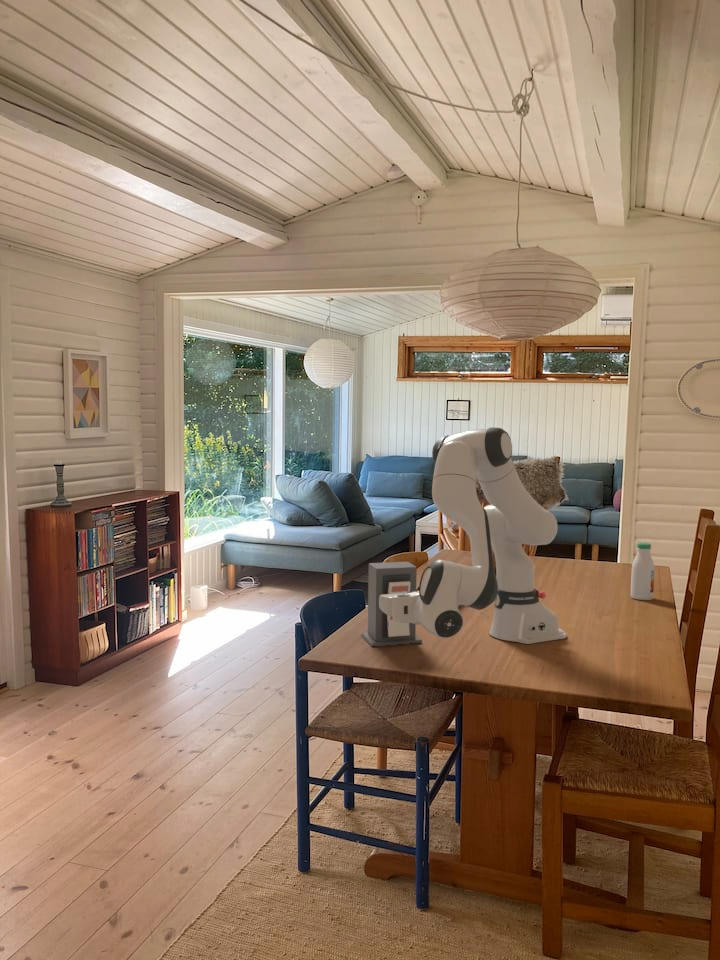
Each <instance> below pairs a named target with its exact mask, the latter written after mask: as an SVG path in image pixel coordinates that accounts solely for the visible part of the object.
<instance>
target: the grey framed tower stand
mask: <svg viewBox="0 0 720 960" xmlns="http://www.w3.org/2000/svg"><path fill="white" fill-rule="evenodd" d="M417 575H418V574H417V566H416V565H414V564H412V563H411V562H409V561H395V562H394V561H389V562H388V561H387V562H370V563H368V583H367V585H368V588H367V589H368V595H367V597H368V598H367V600H368V601H367V604H368V605H367V606H368V607H367V631H364V632H361V637H362V636H363V637H362V638H363V639H364V640H365V641H366V642H367V643H368V645H371V646H377V647H386V646H385V645H391V646H399V645H398V644H405V645H411V644H410V643H419V644H423V639H422V638H421V637H419V635H417V634H416V628H417V627H416V625H417V624H414V623H410V624H409V631H410V635H408V636H394V637H388V626H387V614H385V613H384V612H383V611H382V610H381V609H380V608H379V596H380V595H382V594H387V593H388V588H389V582H407V581H409V582H410V583H411V585H410V592H412V591H415V592H416V590H417ZM371 646H370V647H371Z"/></svg>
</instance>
